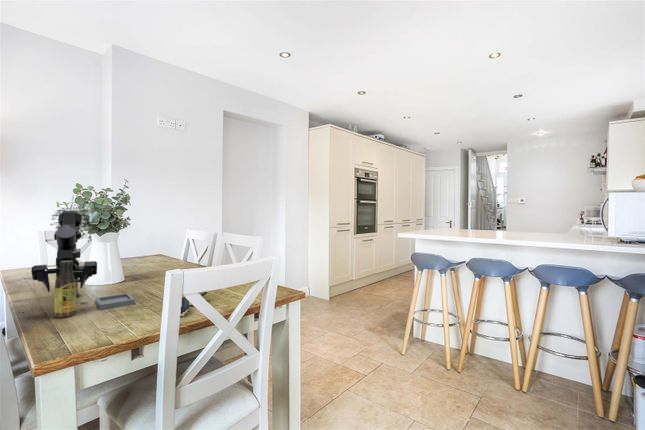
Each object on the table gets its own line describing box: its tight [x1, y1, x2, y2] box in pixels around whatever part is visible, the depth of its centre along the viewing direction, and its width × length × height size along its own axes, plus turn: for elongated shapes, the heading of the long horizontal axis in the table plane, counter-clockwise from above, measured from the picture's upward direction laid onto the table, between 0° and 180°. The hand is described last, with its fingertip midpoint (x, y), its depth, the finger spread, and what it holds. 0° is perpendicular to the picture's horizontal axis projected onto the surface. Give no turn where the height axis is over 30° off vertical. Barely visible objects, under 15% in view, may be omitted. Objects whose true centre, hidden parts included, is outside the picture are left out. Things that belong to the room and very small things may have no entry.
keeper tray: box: [94, 292, 136, 311], centre depth 129 cm, size 12×12×2 cm
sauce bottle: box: [53, 260, 77, 319], centre depth 114 cm, size 6×6×20 cm
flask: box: [181, 297, 190, 314], centre depth 119 cm, size 9×3×11 cm, turn 8°
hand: (65, 289), depth 113 cm, fingers open, 9 cm apart
